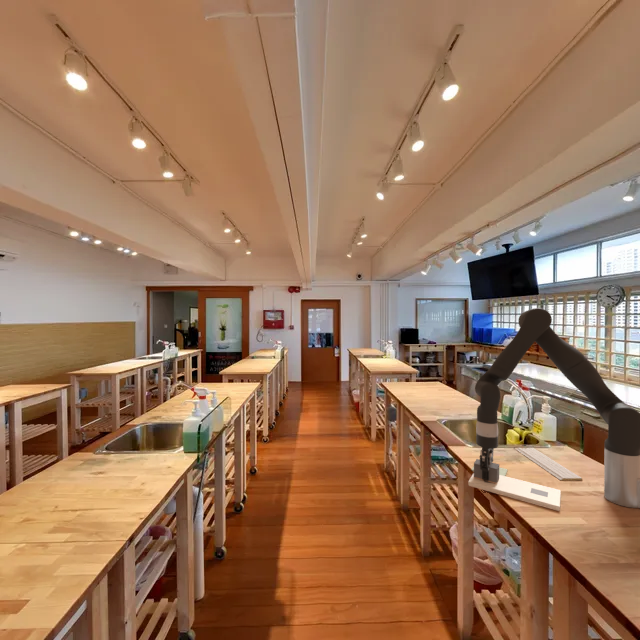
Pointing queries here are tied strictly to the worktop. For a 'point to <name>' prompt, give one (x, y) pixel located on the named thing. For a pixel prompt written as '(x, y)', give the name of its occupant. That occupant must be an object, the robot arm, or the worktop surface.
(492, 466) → the block
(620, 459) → the robot arm
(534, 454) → the baseboard
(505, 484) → the board
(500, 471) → the rest mat
